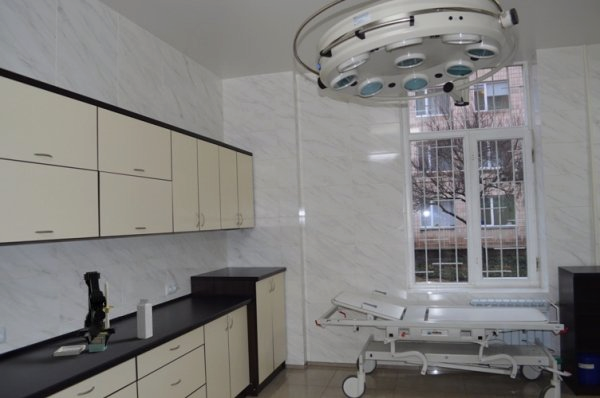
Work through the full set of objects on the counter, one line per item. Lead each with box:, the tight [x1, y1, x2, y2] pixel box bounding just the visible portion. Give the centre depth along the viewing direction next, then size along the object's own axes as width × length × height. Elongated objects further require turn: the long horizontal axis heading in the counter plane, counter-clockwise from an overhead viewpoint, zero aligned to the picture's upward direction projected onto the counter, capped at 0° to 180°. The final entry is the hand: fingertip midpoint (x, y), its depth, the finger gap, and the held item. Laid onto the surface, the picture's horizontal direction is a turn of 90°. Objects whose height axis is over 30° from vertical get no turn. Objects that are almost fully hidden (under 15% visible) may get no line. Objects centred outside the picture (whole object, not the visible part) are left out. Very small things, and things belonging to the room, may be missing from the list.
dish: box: [53, 344, 86, 357], centre depth 241 cm, size 12×12×2 cm
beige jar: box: [92, 336, 104, 344], centre depth 244 cm, size 4×4×6 cm
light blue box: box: [88, 339, 108, 353], centre depth 244 cm, size 7×7×4 cm
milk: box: [136, 298, 153, 340], centre depth 267 cm, size 6×6×22 cm
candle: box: [99, 280, 115, 335], centre depth 285 cm, size 10×10×32 cm
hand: (98, 347), depth 244 cm, fingers closed on light blue box, 7 cm apart
